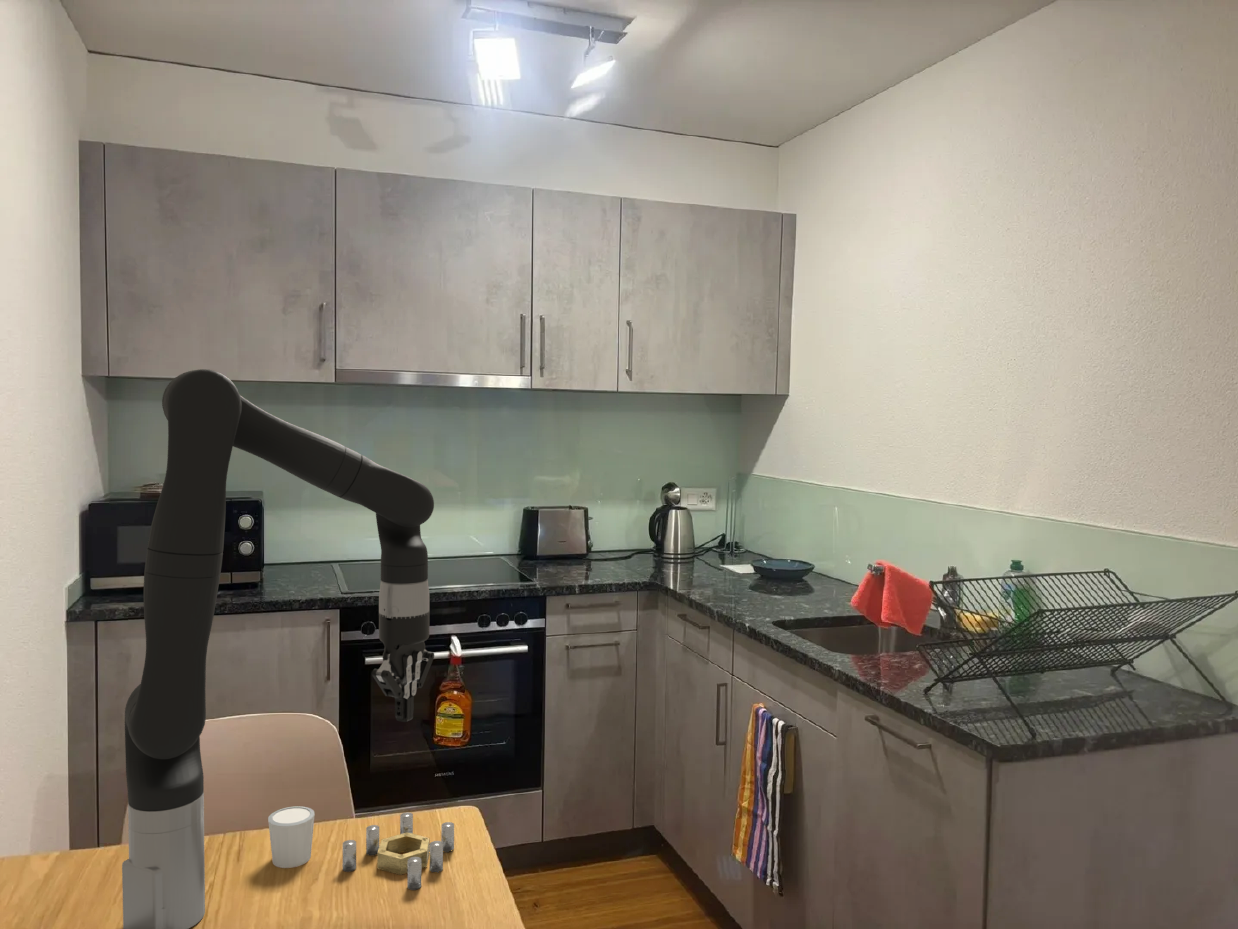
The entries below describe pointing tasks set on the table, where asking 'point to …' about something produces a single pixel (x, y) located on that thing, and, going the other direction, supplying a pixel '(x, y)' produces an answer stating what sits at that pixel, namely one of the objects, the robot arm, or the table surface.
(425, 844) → the tan hexagonal ring
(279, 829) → the white cup
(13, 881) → the table surface
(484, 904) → the table surface
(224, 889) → the table surface
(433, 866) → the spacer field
